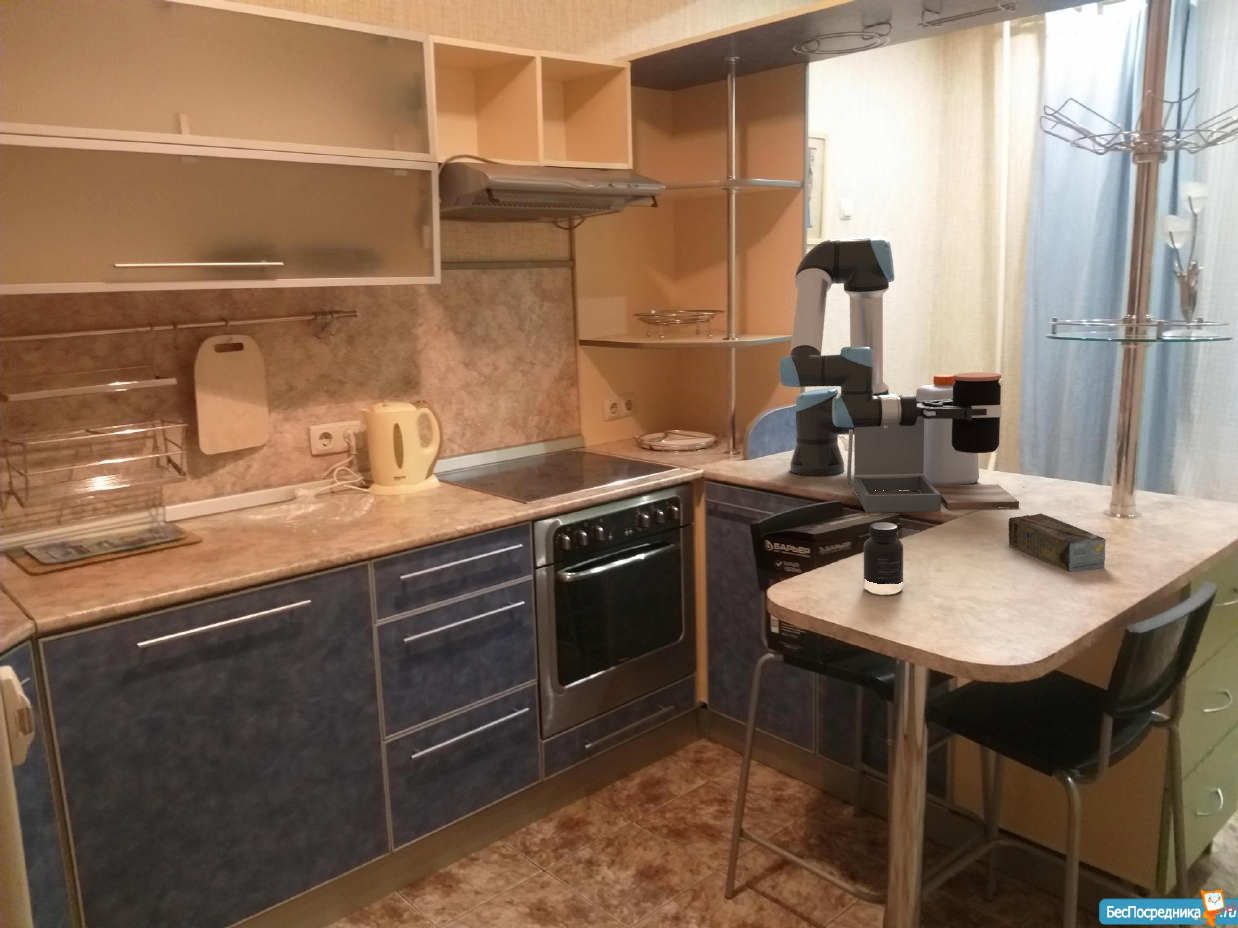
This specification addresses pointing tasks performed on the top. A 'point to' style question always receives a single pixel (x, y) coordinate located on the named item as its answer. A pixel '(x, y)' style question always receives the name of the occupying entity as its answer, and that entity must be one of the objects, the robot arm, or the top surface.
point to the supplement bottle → (883, 554)
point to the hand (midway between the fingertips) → (993, 407)
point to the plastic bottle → (944, 441)
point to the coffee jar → (979, 431)
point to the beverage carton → (1057, 542)
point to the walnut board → (976, 496)
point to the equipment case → (891, 468)
